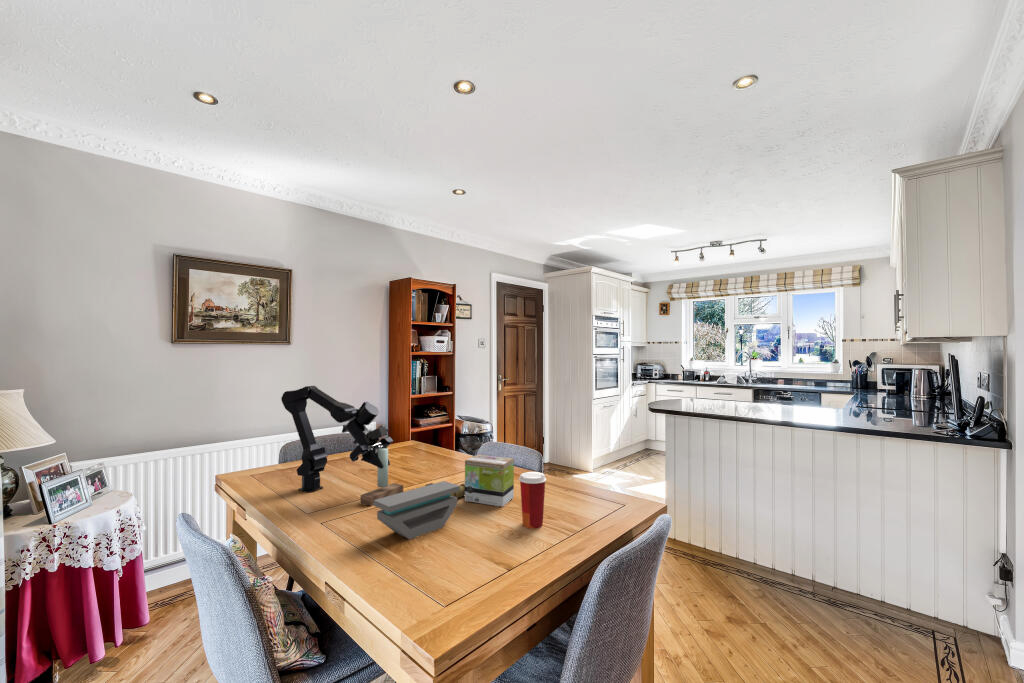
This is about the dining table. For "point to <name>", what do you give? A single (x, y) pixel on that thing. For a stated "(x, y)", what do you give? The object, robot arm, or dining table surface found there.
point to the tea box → (489, 480)
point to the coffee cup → (532, 498)
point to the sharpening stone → (418, 509)
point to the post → (383, 473)
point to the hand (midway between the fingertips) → (385, 466)
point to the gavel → (457, 494)
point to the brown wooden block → (380, 493)
